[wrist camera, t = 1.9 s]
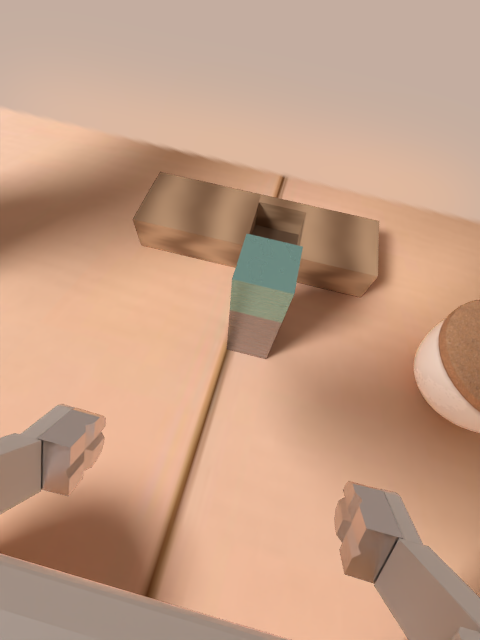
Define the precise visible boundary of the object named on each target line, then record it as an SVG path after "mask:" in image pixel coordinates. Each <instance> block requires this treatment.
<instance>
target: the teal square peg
mask: <svg viewBox="0 0 480 640" xmlns="http://www.w3.org/2000/svg"><path fill="white" fill-rule="evenodd" d="M302 249H303V246H298V245H294V244H290V243H285V242H281V241H277V240H272V239H268V238H264V237H259V236H255V235H251V234H247V233H246V237H245V240H244V243H243V246H242V249H241V253H240V256H239V259H238V262H237V266H236V269H235V272H234V275H233V278H232V289H231V302H230V315H229V328H228V341H227V349H228V350H232V351H236V352H240V353H244V354H248V355H252V356H256V357H260V358H264V359H266V358H267V356H268V353H269V351H270V349H271V346H272V344H273V342H274V340H275V337H276V335H277V333H278V330H279V328H280V326H281V324H282V321H283V319H284V317H285V314H286V312H287V310H288V307H289V305H290V303H291V301H292V298H293V296H294V293H295V288H296V282H297V277H298V271H299V266H300V260H301V255H302Z"/></svg>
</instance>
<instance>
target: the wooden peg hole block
mask: <svg viewBox="0 0 480 640" xmlns="http://www.w3.org/2000/svg"><path fill="white" fill-rule="evenodd" d="M133 222H134V225H135V228H136V231H137V233H138V236H139V239H140V242H141V245H143V246H147V247H151V248H155V249H159V250H164V251H168V252H172V253H176V254H180V255H185V256H189V257H193V258H197V259H201V260H206V261H210V262H214V263H218V264H222V265H227V266H231V267H235V268H236V266H237V262H238V259H239V256H240V253H241V249H242V246H243V243H244V240H245V237H246V233H247V234H251V235H255V236H259V237H264V238H268V239H272V240H277V241H281V242H285V243H290V244H294V245H298V246H303V249H302V255H301V260H300V266H299V271H298V277H297V282H298V283H302V284H306V285H311V286H315V287H319V288H323V289H327V290H332V291H336V292H340V293H344V294H348V295H353V296H357V297H361V296H362V295H363V294H364V293H365V292H366V290H367V289H368V288H369V287H370V286H371V284H372V283H373V282H374V281H375V280H376V278H377V277H378V251H379V221H377V220H372V219H368V218H363V217H359V216H355V215H350V214H346V213H341V212H337V211H332V210H328V209H323V208H319V207H315V206H310V205H306V204H301V203H297V202H292V201H288V200H283V199H279V198H274V197H270V196H266V195H261V194H257V193H252V192H248V191H243V190H239V189H234V188H230V187H225V186H221V185H217V184H212V183H208V182H203V181H199V180H194V179H190V178H185V177H181V176H176V175H172V174H168V173H163V172H160V173H159V175H158V176H157V178H156V180H155V181H154V183H153V185H152V187H151V188H150V190H149V192H148V194H147V195H146V197H145V199H144V200H143V202H142V204H141V206H140V207H139V209H138V211H137V213H136V214H135V216H134V218H133Z"/></svg>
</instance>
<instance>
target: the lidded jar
mask: <svg viewBox="0 0 480 640" xmlns="http://www.w3.org/2000/svg"><path fill="white" fill-rule="evenodd" d="M414 376H415V380H416V383H417V386H418V388H419V390H420V392H421V394H422V396H423V397H424V399H425V400H426V401H427V403H428V404H429V405H430V406H431V407H432V408H433V409H434V410H435V411H436V412H437V413H438V414H440V415H441V416H442V417H444V418H445V419H447V420H448V421H450V422H451V423H453V424H455V425H457V426H459V427H462V428H464V429H467V430H470V431H473V432H476V433H480V300H475V301H471V302H468V303H466V304H464V305H462V306H460V307H458V308H457V309H456V310H454V311H453V312H452V313H451V314H449V315H448V317H446V318H445V319H444V320H442V321H441V322H440V323H438V324H437V325H436V326H435V327H434V328H433V329H432V330H430V331H429V333H428V334H427V335H426V336H425V337H424V339H423V340H422V341H421V343H420V345H419V347H418V349H417V351H416V355H415V358H414Z"/></svg>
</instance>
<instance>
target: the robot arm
mask: <svg viewBox="0 0 480 640" xmlns="http://www.w3.org/2000/svg"><path fill="white" fill-rule="evenodd" d="M105 424H106V418H105V417H104V416H103V415H99V414H96V413H92V412H89V411H86V410H82V409H79V408H74V407H71V406H67V405H64V404H61V405H57V406H56V407H55V408H53V409H52V410H51V411H49V412H48V413H47V414H46V415H44V416H43V417H42V418H40V419H39V420H38V421H37V422H35V423H34V424H33V425H31V426H30V427H29V428H28V429H26V430H25V431H24V432H22V433H21V434H16V433H14V434H11V435H8V436H5V437H2V438H0V514H2V513H4V512H5V511H7V510H9V509H11V508H12V507H14V506H16V505H18V504H19V503H21V502H23V501H25V500H26V499H28V498H30V497H32V496H33V495H35V494H37V493H39V492H40V491H41V490H45V491H49V492H53V493H57V494H61V495H66V496H69V495H70V494H71V493H72V491H73V490H74V489H75V488H76V486H77V485H78V484H79V483H80V481H81V480H82V479H83V471H84V470H87V469H89V468H91V467H92V466H93V465H94V463H95V462H96V461H97V459H98V457H99V455H100V453H101V451H102V448H103V445H104V436H103V434H102V432H101V431H102V430H103V429H104V427H105ZM343 492H344V496H345V497H344V498H342V499H341V500H339V501H338V504H337V506H336V510H335V518H334V520H335V530H336V535H337V536H338V537H339V539H340V540H341V541H342V545H341V547H340V555H341V560H342V565H343V569H344V574H345V575H348V576H352V577H355V578H358V579H361V580H364V581H367V582H371V583H374V586H375V588H376V589H377V591H378V592H379V594H380V596H381V597H382V599H383V600H384V602H385V603H386V605H387V607H388V608H389V610H390V611H391V613H392V615H393V616H394V618H395V619H396V621H397V622H398V624H399V626H400V627H401V629H402V630H403V632H404V633H405V635H406V637H407V638H408V640H480V598H479V597H478V596H477V594H476V593H475V592H474V591H473V590H472V589H471V588H470V587H469V586H468V585H467V584H466V583H465V582H464V581H463V580H462V579H461V578H460V577H459V576H458V575H457V574H456V573H455V572H454V571H453V570H452V569H451V568H450V567H449V566H448V565H447V564H446V563H445V562H444V561H443V560H442V559H441V558H440V557H439V556H438V555H437V554H436V553H435V552H434V551H433V550H432V549H431V548H430V547H429V546H425V545H423V543H422V541H421V539H420V537H419V535H418V533H417V530H416V528H415V526H414V524H413V522H412V520H411V518H410V516H409V514H408V512H407V510H406V508H405V505H404V503H403V501H402V499H401V497H400V496H399V495H398V494H397V493H395V492H391V491H387V490H383V489H378V488H374V487H370V486H366V485H362V484H358V483H354V482H350V481H348V482H347V483H346V485H345V487H344V489H343ZM0 640H291V639H287V638H284V637H281V636H277V635H274V634H270V633H267V632H264V631H260V630H257V629H253V628H250V627H247V626H243V625H240V624H237V623H233V622H230V621H226V620H223V619H220V618H216V617H213V616H209V615H206V614H203V613H199V612H196V611H193V610H189V609H186V608H183V607H179V606H176V605H172V604H169V603H166V602H162V601H159V600H156V599H152V598H149V597H146V596H142V595H139V594H136V593H132V592H129V591H125V590H122V589H119V588H115V587H112V586H109V585H105V584H102V583H99V582H95V581H92V580H88V579H85V578H82V577H78V576H75V575H72V574H68V573H65V572H62V571H58V570H55V569H51V568H48V567H45V566H41V565H38V564H35V563H31V562H28V561H25V560H21V559H18V558H14V557H11V556H8V555H4V554H1V553H0Z"/></svg>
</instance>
